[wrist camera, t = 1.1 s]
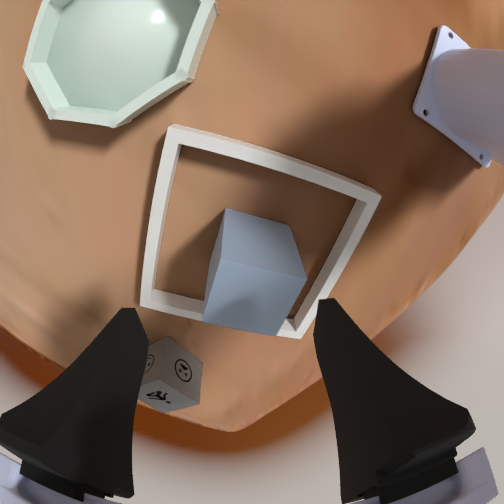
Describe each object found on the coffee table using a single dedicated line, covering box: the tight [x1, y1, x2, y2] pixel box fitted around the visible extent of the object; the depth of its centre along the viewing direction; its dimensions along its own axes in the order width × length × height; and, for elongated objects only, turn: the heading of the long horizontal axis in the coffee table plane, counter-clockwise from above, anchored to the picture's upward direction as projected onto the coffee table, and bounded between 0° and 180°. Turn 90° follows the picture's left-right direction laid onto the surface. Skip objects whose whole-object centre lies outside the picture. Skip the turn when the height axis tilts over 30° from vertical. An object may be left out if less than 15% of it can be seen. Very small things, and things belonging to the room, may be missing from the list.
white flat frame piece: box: [140, 124, 382, 339], centre depth 19 cm, size 14×14×2 cm
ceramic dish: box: [23, 0, 219, 128], centre depth 11 cm, size 11×11×2 cm
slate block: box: [202, 208, 307, 336], centre depth 18 cm, size 4×4×6 cm
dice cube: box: [138, 336, 203, 413], centre depth 25 cm, size 5×5×5 cm
